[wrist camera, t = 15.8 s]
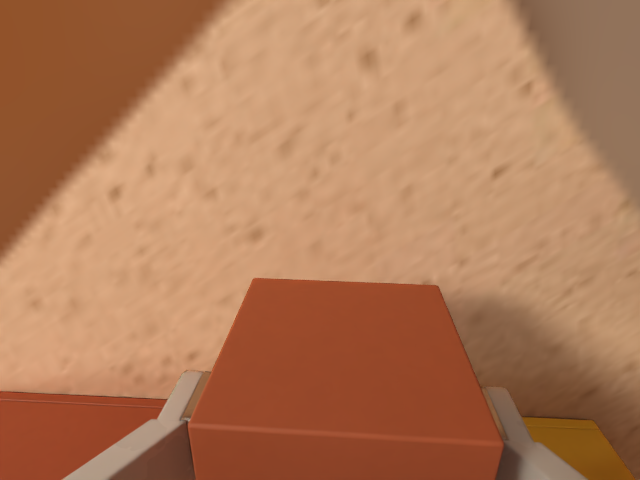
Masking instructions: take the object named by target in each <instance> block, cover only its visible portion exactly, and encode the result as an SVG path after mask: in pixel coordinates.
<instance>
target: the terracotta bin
mask: <svg viewBox="0 0 640 480" xmlns="http://www.w3.org/2000/svg"><path fill="white" fill-rule="evenodd" d="M166 402H167V400H162V399H142V398H121V397H100V396H79V395H59V394H38V393H17V392H0V480H62V479H64V478H65V477H67V476H68V475H69V474H71V473H72V472H74V471H75V470H77V469H78V468H80V467H81V466H83V465H84V464H86V463H87V462H89V461H90V460H92V459H93V458H95V457H96V456H97V455H99V454H100V453H102V452H103V451H105V450H106V449H108V448H109V447H111V446H112V445H114V444H115V443H117V442H118V441H120V440H121V439H123V438H124V437H125V436H127V435H128V434H130V433H131V432H133V431H134V430H136V429H137V428H139V427H140V426H142V425H143V424H145V423H146V422H148V421H149V420H151V419H157V418H158V416H159V415H160V413H161V411H162V409H163V407H164V405H165V404H166ZM195 480H196V479H195Z"/></svg>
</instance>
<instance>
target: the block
mask: <svg viewBox="0 0 640 480" xmlns="http://www.w3.org/2000/svg"><path fill="white" fill-rule="evenodd" d="M188 432H189V438H190V445H191V451H192V458H193V464H194V470H195V477H196V480H495V479H496V476H497V472H498V468H499V464H500V460H501V456H502V453H503V449H504V442H503V439H502V437H501V434H500V432H499V430H498V427H497V425H496V422H495V420H494V418H493V415H492V413H491V411H490V408H489V406H488V403H487V401H486V399H485V396H484V394H483V392H482V389H481V387H480V384H479V382H478V380H477V377H476V375H475V373H474V370H473V368H472V365H471V363H470V361H469V358H468V356H467V353H466V351H465V349H464V346H463V344H462V342H461V339H460V337H459V334H458V332H457V330H456V327H455V325H454V323H453V320H452V318H451V315H450V313H449V311H448V308H447V306H446V304H445V301H444V299H443V296H442V294H441V292H440V289H439V287H438V286H436V285H415V284H390V283H365V282H339V281H314V280H289V279H264V278H254V279H253V280H252V283H251V285H250V287H249V289H248V291H247V294H246V296H245V298H244V300H243V303H242V305H241V307H240V309H239V312H238V314H237V316H236V318H235V320H234V323H233V325H232V327H231V329H230V332H229V334H228V336H227V338H226V341H225V343H224V345H223V347H222V349H221V352H220V354H219V356H218V358H217V361H216V363H215V365H214V367H213V370H212V372H211V374H210V376H209V378H208V381H207V383H206V385H205V387H204V390H203V392H202V394H201V396H200V399H199V401H198V403H197V405H196V407H195V410H194V412H193V414H192V416H191V419H190V421H189V423H188Z"/></svg>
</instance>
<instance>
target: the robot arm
mask: <svg viewBox="0 0 640 480" xmlns="http://www.w3.org/2000/svg"><path fill="white" fill-rule="evenodd" d="M210 374H211V372H206V371H205V372H201V371H188V370H186V371H185V372H184V373H182V374H181V376H180V378H179V380H178V382H177V384H176V385H175V387H174V389H173V391H172V393H171V395H170V396H169V398H168V400H167V402H166V404H165V405H164V407H163V409H162V411H161V413H160V415H159V416H158V418H157V419H151V420H149V421H148V422H146V423H145V424H143V425H142V426H140V427H139V428H137V429H136V430H134V431H133V432H131V433H130V434H128V435H127V436H125V437H124V438H123V439H121V440H120V441H118V442H117V443H115V444H114V445H112V446H111V447H109V448H108V449H106V450H105V451H103V452H102V453H100V454H99V455H97V456H96V457H95V458H93V459H92V460H90V461H89V462H87V463H86V464H84V465H83V466H81V467H80V468H78V469H77V470H75V471H74V472H72V473H71V474H69V475H68V476H67V477H65V478H64V479H62V480H195V479H196V477H195V470H194V464H193V458H192V451H191V445H190V438H189V432H188V423H189V421H190V419H191V416H192V414H193V412H194V410H195V407H196V405H197V403H198V401H199V399H200V396H201V394H202V392H203V390H204V387H205V385H206V383H207V381H208V378H209V376H210ZM481 389H482V392H483V394H484V396H485V399H486V401H487V403H488V406H489V408H490V411H491V413H492V415H493V418H494V420H495V422H496V425H497V427H498V430H499V432H500V434H501V437H502V439H503V442H504V449H503V453H502V456H501V460H500V464H499V468H498V472H497V476H496V479H495V480H588V479H587V478H586V477H584V476H583V475H582V474H580V473H579V472H578V471H577V470H575V469H574V468H573V467H571V466H570V465H569V464H568V463H566V462H565V461H564V460H562V459H561V458H560V457H559V456H557V455H556V454H555V453H554V452H552V451H551V450H550V449H548V448H547V447H546V446H545V445H543V444H542V443H539V442H534V441H533V439H532V437H531V435H530V433H529V431H528V429H527V427H526V425H525V423H524V421H523V419H522V417H521V415H520V413H519V411H518V409H517V407H516V405H515V403H514V401H513V399H512V398H511V396H510V394H509V392H508V390H507V389H506V388H504V387H481Z"/></svg>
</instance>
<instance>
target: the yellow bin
mask: <svg viewBox="0 0 640 480" xmlns="http://www.w3.org/2000/svg"><path fill="white" fill-rule="evenodd" d="M522 419H523V421H524V423H525V425H526V427H527V429H528V431H529V433H530V435H531V437H532V439H533V441H534V442H539V443H542V444H543V445H545V446H546V447H547V448H548V449H550V450H551V451H552V452H554V453H555V454H556V455H557V456H559V457H560V458H561V459H562V460H564V461H565V462H566V463H568V464H569V465H570V466H571V467H573V468H574V469H575V470H577V471H578V472H579V473H580V474H582V475H583V476H584V477H586V478H587V479H588V480H636V479H635V478H634V477H633V475H632V474H631V472H630V471H629V470H628V468H627V467H626V465H625V464H624V463H623V461H622V460H621V459H620V457H619V456H618V454H617V453H616V452H615V450H614V449H613V447H612V446H611V445H610V443H609V442H608V440H607V439H606V438H605V436H604V435H603V433H602V432H601V431H600V430H599V428H598V426H597V425H596V423H595V422H594V421H593V420H577V419H556V418H535V417H522Z"/></svg>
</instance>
